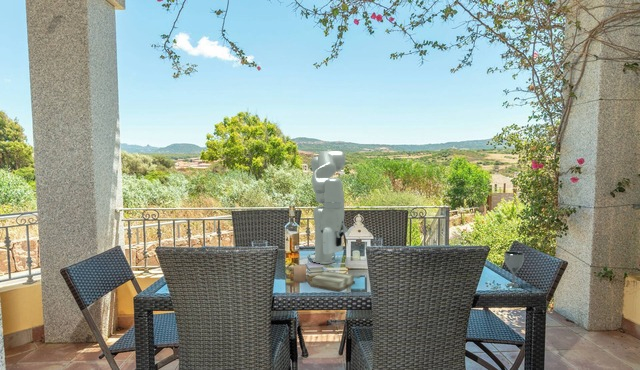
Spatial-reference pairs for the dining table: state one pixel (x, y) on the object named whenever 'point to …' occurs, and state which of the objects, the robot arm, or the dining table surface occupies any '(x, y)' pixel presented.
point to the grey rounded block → (331, 241)
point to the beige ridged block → (333, 281)
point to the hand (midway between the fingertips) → (332, 244)
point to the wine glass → (514, 263)
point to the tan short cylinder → (300, 273)
